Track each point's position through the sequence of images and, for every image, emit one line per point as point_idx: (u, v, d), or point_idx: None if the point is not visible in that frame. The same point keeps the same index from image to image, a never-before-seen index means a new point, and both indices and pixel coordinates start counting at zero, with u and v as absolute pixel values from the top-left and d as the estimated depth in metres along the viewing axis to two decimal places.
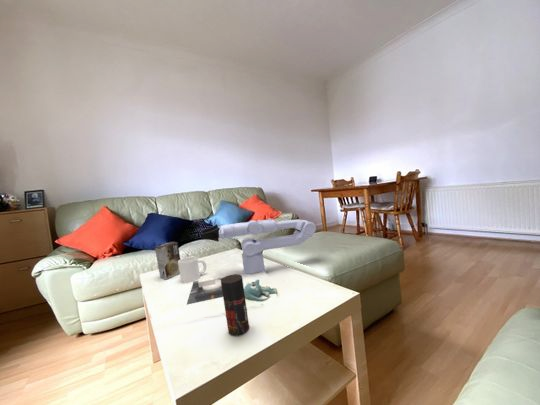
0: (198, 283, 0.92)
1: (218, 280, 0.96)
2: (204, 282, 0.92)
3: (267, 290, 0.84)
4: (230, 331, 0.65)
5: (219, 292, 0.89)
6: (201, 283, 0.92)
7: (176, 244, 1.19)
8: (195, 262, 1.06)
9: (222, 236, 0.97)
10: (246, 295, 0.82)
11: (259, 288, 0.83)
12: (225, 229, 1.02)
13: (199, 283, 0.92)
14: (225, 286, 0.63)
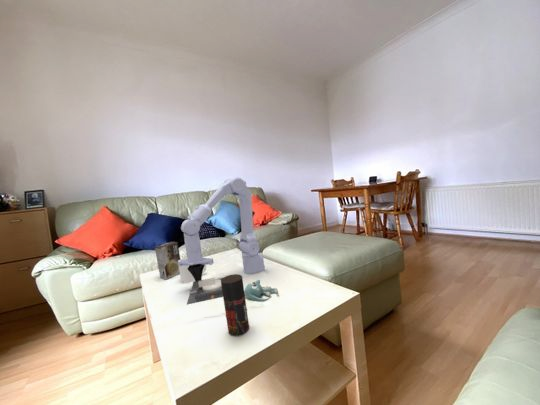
0: (198, 283, 0.92)
1: (218, 280, 0.96)
2: (204, 282, 0.92)
3: (268, 290, 0.83)
4: (230, 331, 0.65)
5: (219, 292, 0.89)
6: (201, 283, 0.92)
7: (176, 244, 1.19)
8: None
9: (212, 260, 0.93)
10: (247, 295, 0.81)
11: (260, 288, 0.82)
12: (199, 258, 0.92)
13: (199, 283, 0.92)
14: (225, 286, 0.63)
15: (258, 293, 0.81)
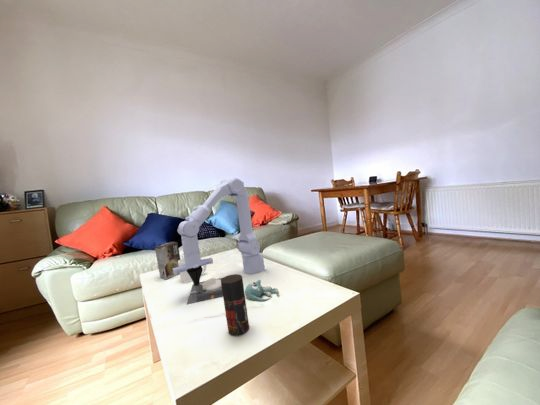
0: (202, 285, 0.89)
1: None
2: (207, 283, 0.91)
3: (268, 290, 0.83)
4: (230, 331, 0.65)
5: (219, 292, 0.89)
6: (205, 285, 0.90)
7: (176, 244, 1.19)
8: None
9: None
10: (248, 296, 0.81)
11: (261, 288, 0.82)
12: (200, 259, 0.90)
13: (203, 285, 0.89)
14: (225, 286, 0.63)
15: (259, 293, 0.81)
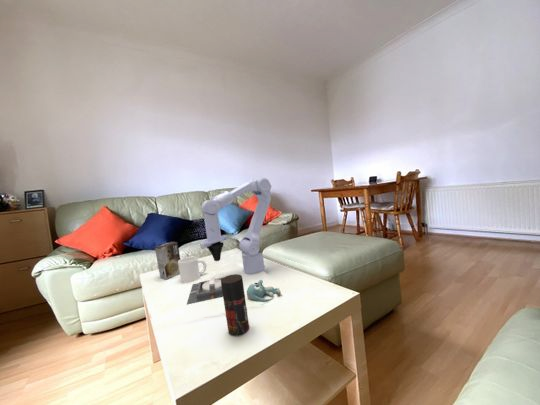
0: (214, 284, 0.89)
1: (207, 282, 0.96)
2: (214, 282, 0.91)
3: (270, 290, 0.83)
4: (230, 331, 0.65)
5: (219, 292, 0.89)
6: (214, 284, 0.90)
7: (176, 244, 1.19)
8: (195, 262, 1.06)
9: None
10: (250, 296, 0.81)
11: (263, 288, 0.82)
12: None
13: (214, 284, 0.89)
14: (225, 286, 0.63)
15: (261, 293, 0.81)
